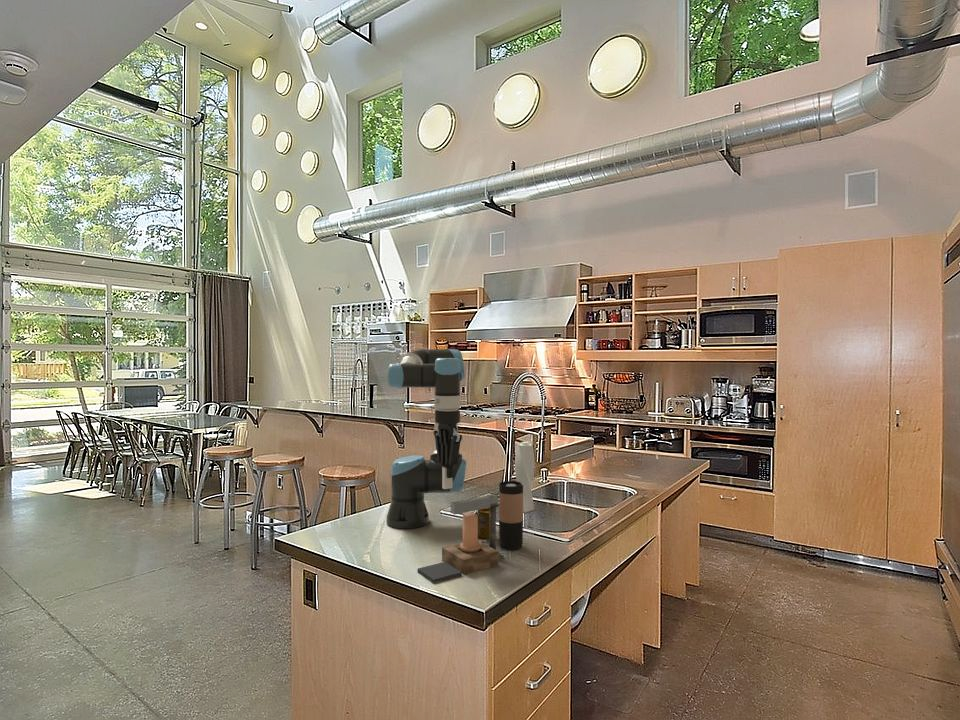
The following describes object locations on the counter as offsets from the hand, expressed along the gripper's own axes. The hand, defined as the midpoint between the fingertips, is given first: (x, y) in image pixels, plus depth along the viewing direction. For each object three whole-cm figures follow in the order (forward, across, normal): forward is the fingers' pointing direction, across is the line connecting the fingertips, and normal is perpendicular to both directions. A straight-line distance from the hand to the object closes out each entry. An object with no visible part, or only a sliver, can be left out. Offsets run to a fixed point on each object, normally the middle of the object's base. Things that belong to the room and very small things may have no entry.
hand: (447, 488), depth 171 cm
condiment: (+21, -8, +19) cm, 30 cm away
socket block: (+21, +8, +5) cm, 23 cm away
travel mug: (+21, +4, +21) cm, 30 cm away
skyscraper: (+21, -24, +49) cm, 59 cm away
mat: (+21, +10, -8) cm, 24 cm away
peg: (+21, +8, +3) cm, 22 cm away
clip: (+5, +8, +5) cm, 11 cm away
